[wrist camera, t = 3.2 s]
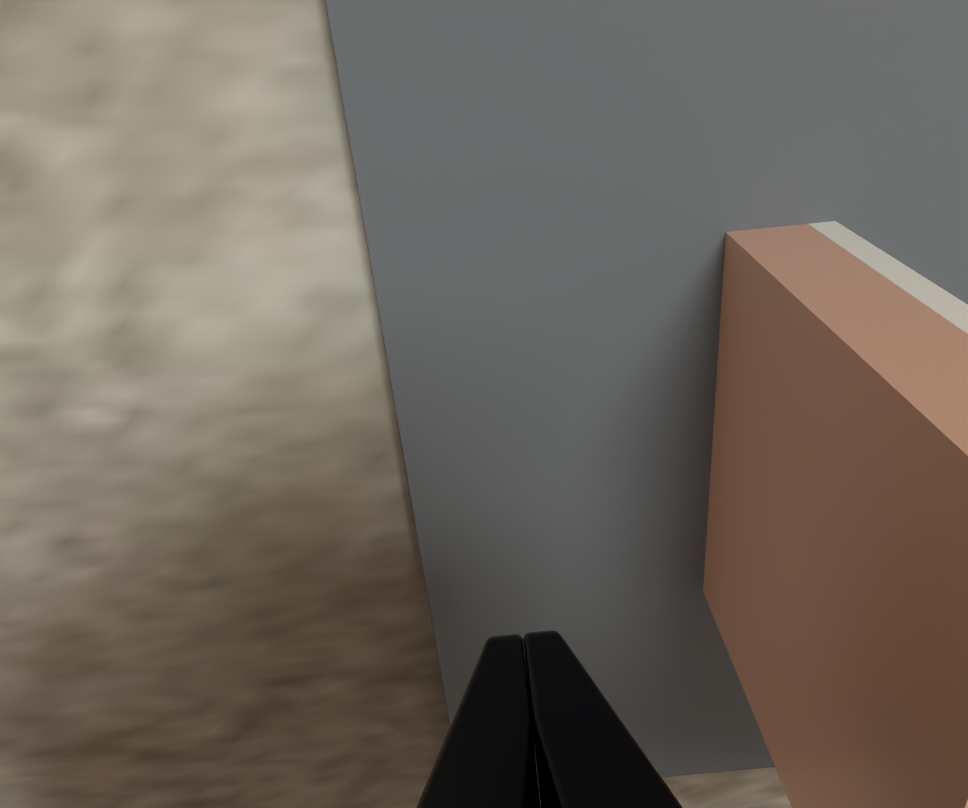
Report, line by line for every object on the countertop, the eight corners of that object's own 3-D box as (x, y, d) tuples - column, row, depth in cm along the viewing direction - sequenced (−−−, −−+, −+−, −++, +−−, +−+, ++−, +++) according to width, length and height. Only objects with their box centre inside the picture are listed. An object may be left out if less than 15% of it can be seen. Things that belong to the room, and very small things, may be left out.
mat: (1238, 698, 18) (1262, 720, 17) (461, 771, 18) (461, 795, 17) (1842, -360, 9) (1929, -381, 8) (300, -193, 9) (290, -202, 9)
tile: (786, 583, 15) (1030, 1020, 8) (703, 591, 15) (885, 1033, 8) (835, 220, 11) (1300, 516, 5) (726, 231, 11) (1057, 540, 5)
